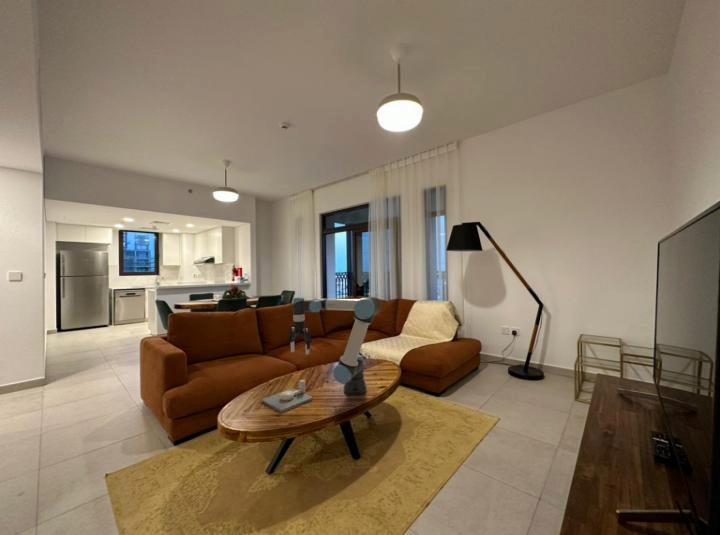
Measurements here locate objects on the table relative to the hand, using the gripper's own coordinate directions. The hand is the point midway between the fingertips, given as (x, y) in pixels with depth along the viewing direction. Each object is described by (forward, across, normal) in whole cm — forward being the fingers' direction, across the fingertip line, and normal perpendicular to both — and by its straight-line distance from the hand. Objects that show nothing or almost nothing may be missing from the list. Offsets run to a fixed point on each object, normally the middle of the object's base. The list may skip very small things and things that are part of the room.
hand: (300, 352), depth 189 cm
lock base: (+25, -3, +15) cm, 29 cm away
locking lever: (+23, -4, +11) cm, 26 cm away
